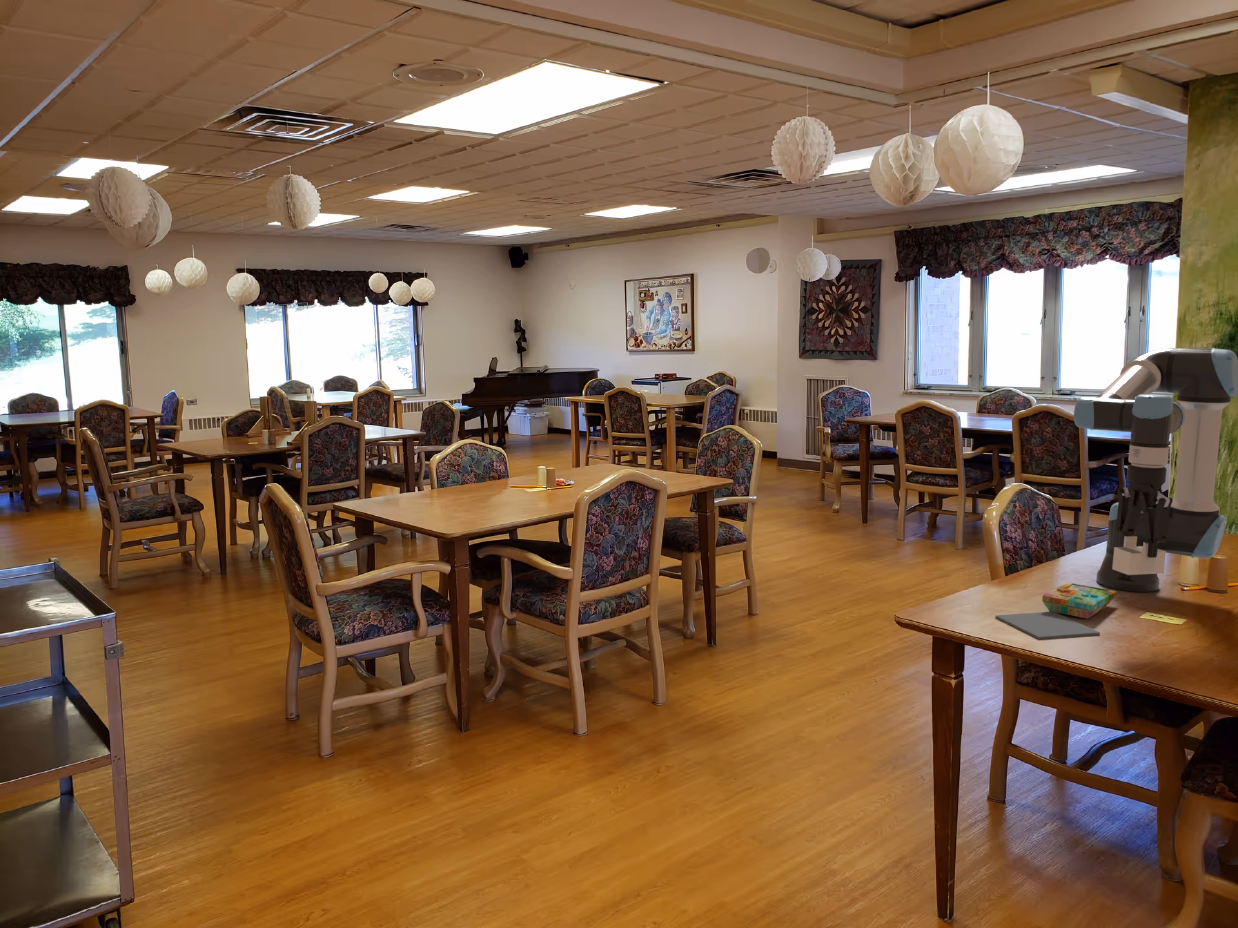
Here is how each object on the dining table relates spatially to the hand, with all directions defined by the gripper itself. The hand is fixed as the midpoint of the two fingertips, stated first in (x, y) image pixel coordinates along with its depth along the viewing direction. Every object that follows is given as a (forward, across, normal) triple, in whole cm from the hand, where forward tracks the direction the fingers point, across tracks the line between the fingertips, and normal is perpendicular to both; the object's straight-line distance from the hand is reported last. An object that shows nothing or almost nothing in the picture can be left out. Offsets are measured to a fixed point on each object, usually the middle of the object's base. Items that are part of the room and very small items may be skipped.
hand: (1137, 567), depth 210 cm
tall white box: (+1, 0, 0) cm, 1 cm away
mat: (+17, -12, -13) cm, 24 cm away
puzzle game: (+17, -22, +4) cm, 28 cm away
